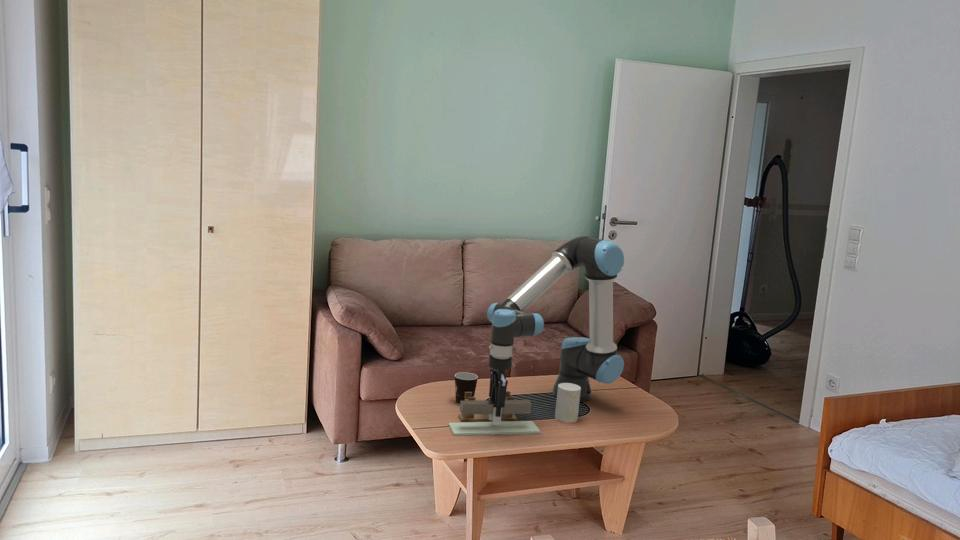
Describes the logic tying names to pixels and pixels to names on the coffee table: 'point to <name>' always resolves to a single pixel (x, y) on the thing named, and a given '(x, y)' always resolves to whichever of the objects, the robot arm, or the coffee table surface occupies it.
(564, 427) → the coffee table surface
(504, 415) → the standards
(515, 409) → the rail
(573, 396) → the light grey cylinder plug
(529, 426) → the mat
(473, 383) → the coffee mug
